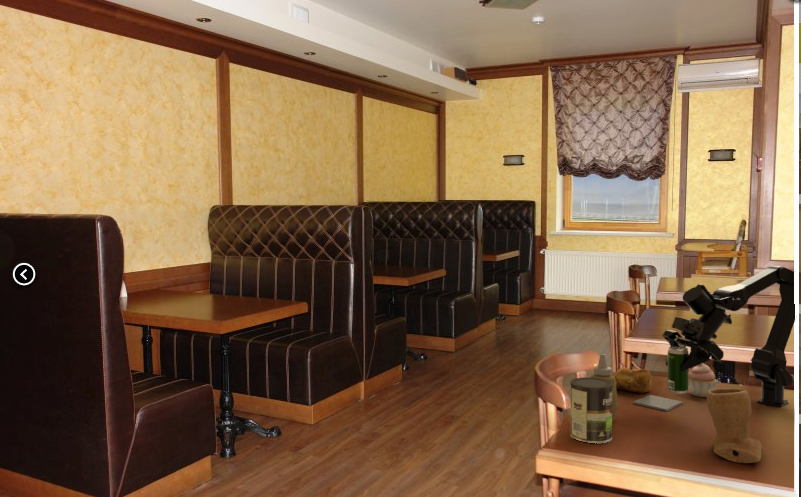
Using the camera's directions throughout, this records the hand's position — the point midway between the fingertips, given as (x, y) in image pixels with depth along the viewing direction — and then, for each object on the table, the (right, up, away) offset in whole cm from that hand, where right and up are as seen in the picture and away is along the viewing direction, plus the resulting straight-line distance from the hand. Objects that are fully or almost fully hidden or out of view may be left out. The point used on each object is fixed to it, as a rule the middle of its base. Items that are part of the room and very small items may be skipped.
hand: (673, 368), depth 182 cm
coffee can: (-27, -15, -15) cm, 35 cm away
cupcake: (+17, -12, +20) cm, 28 cm away
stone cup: (+3, -15, -27) cm, 31 cm away
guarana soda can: (+2, -7, +1) cm, 7 cm away
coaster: (0, -13, +11) cm, 17 cm away
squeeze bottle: (-20, -14, -2) cm, 25 cm away
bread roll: (-3, -12, +26) cm, 29 cm away
